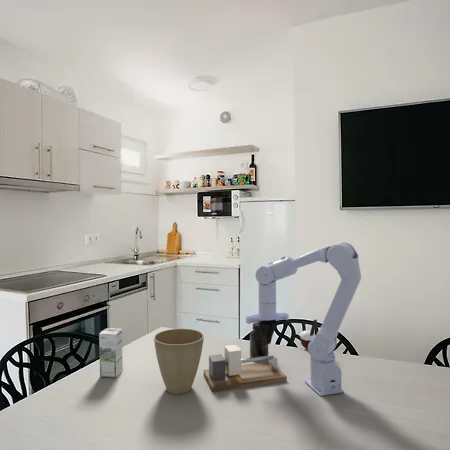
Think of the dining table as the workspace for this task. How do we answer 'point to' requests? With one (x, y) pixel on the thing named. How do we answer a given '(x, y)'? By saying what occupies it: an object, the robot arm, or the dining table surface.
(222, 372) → the block
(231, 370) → the sleeve
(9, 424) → the dining table surface
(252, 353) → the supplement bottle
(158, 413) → the dining table surface
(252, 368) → the board
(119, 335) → the syrup box
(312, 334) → the cocoa
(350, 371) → the dining table surface
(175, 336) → the plant pot
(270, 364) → the rail
